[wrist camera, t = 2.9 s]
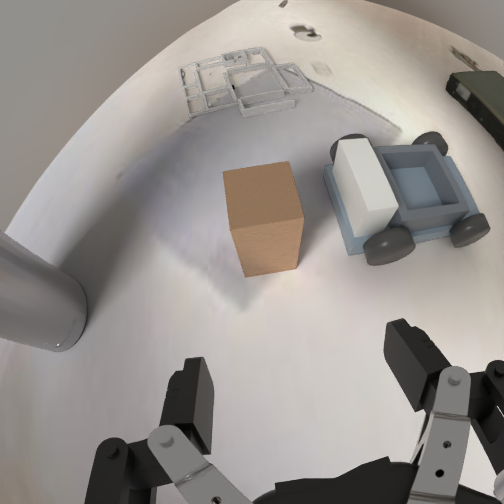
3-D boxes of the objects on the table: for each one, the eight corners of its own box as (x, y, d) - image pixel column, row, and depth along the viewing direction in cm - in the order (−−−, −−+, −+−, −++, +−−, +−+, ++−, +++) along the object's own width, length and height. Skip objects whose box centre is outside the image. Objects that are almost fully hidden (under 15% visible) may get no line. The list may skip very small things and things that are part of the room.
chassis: (352, 270, 28) (372, 240, 22) (319, 165, 34) (325, 122, 27) (480, 242, 28) (512, 214, 22) (439, 156, 33) (458, 121, 27)
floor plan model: (356, 102, 39) (358, 92, 37) (190, 135, 38) (187, 125, 36) (309, 47, 46) (309, 39, 45) (179, 72, 46) (176, 63, 44)
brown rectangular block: (245, 277, 29) (230, 229, 20) (238, 231, 31) (222, 171, 22) (296, 268, 29) (304, 217, 20) (286, 223, 31) (288, 161, 22)
